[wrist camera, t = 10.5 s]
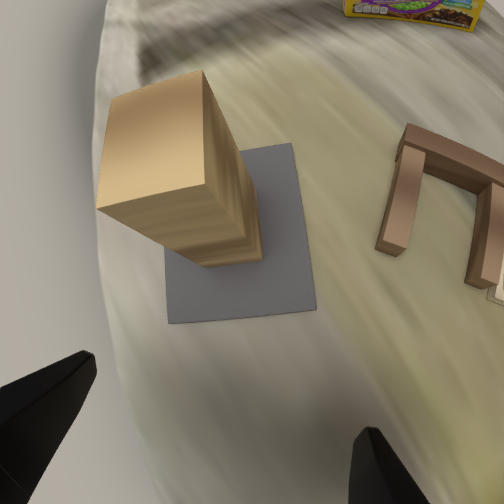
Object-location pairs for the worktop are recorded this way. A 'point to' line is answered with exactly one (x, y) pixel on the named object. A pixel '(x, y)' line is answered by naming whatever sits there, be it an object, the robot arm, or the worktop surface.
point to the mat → (254, 273)
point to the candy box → (419, 11)
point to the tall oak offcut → (179, 173)
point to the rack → (460, 174)
